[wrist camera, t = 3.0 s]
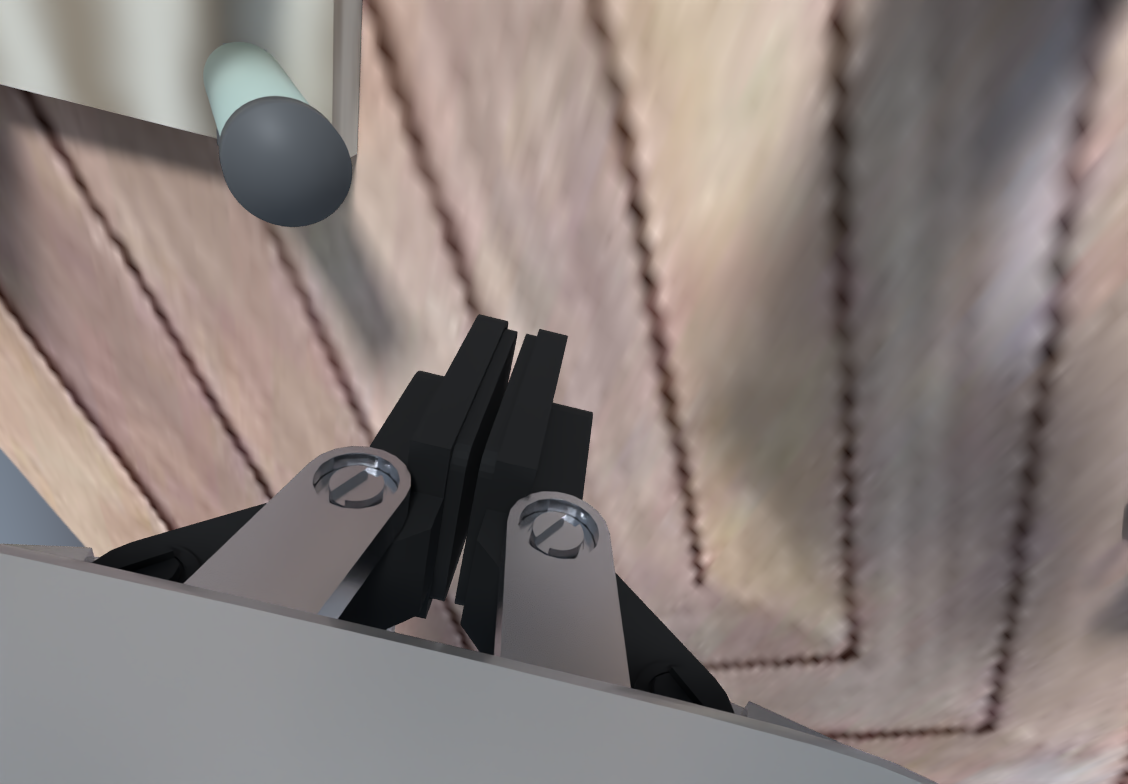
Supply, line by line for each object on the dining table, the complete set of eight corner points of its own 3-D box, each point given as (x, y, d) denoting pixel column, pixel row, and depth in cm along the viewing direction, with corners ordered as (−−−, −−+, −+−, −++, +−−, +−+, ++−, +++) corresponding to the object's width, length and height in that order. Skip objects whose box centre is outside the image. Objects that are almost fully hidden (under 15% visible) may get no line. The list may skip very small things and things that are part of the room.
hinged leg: (289, 40, 27) (353, 112, 19) (291, 128, 29) (350, 228, 21) (191, 24, 25) (216, 96, 17) (200, 120, 27) (226, 225, 19)
